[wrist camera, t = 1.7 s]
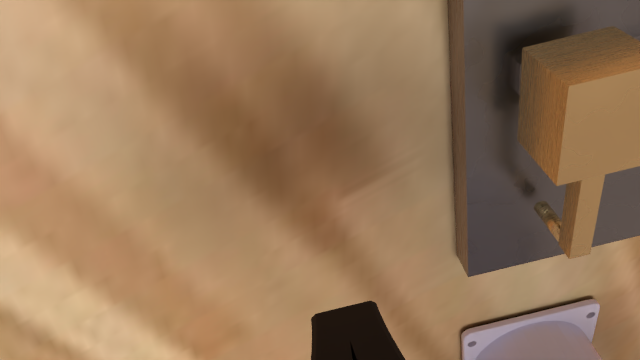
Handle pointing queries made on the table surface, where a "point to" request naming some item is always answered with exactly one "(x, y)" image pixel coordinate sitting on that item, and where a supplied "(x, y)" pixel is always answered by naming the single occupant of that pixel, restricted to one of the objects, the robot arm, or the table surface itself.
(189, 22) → the table surface
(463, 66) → the plate
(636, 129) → the brass slider
